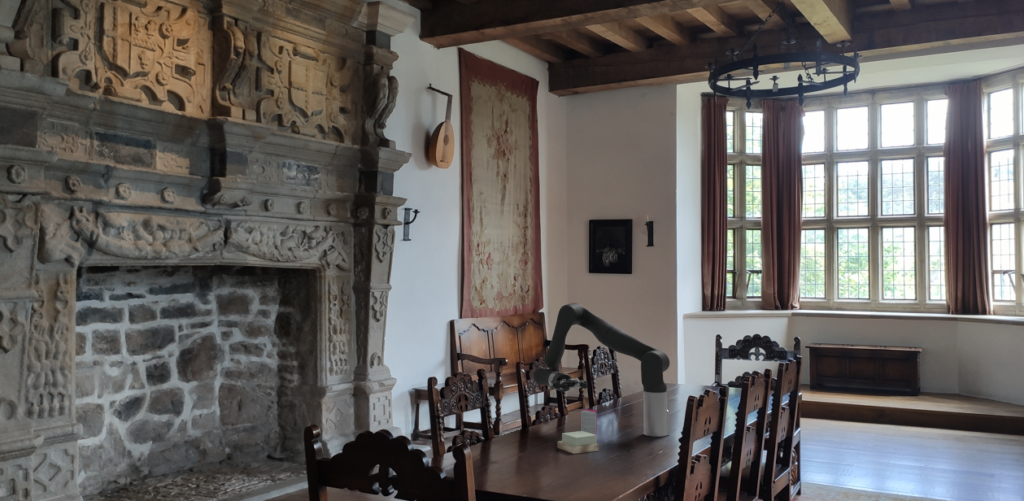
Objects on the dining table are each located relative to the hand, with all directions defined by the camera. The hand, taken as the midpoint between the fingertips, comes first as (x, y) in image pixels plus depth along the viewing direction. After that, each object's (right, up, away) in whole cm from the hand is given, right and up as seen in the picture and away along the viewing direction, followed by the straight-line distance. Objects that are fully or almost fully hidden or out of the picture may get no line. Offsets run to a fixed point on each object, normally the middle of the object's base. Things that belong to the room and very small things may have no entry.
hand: (576, 386), depth 308 cm
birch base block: (-2, -19, -27) cm, 33 cm away
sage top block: (-1, -16, -26) cm, 31 cm away
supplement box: (+4, -19, -11) cm, 22 cm away
